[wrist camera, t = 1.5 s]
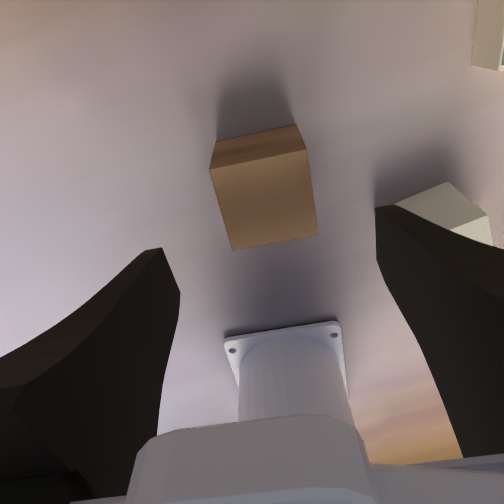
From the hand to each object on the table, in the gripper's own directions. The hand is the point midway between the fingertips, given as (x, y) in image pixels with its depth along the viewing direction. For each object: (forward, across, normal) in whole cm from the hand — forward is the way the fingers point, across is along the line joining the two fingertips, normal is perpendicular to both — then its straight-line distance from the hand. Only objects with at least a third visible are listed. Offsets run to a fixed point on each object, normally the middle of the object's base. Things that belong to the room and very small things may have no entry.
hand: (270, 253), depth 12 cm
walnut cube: (+8, 0, 0) cm, 8 cm away
